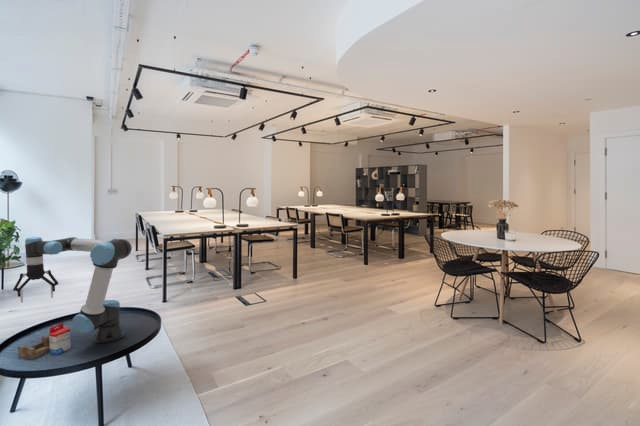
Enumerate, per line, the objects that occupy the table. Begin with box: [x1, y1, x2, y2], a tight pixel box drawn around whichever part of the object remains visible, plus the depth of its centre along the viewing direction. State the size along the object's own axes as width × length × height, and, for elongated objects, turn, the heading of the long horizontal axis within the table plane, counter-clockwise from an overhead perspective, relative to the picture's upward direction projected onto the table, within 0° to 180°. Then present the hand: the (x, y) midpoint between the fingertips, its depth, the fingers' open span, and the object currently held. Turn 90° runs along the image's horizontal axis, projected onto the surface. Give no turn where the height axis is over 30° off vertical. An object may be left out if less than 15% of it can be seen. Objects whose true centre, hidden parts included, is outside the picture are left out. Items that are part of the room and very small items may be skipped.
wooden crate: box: [17, 335, 50, 361], centre depth 187 cm, size 10×13×6 cm
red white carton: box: [48, 322, 72, 356], centre depth 189 cm, size 8×5×15 cm, turn 168°
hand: (37, 299), depth 198 cm, fingers open, 13 cm apart
